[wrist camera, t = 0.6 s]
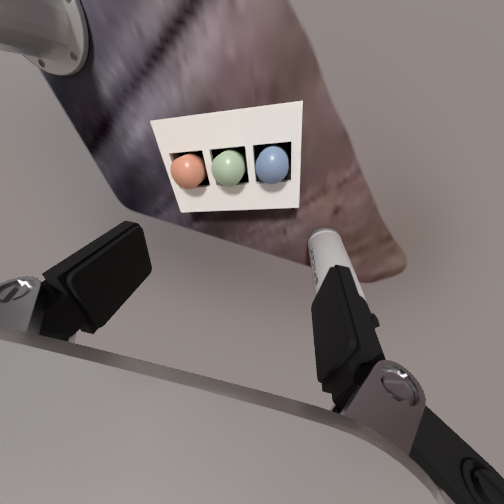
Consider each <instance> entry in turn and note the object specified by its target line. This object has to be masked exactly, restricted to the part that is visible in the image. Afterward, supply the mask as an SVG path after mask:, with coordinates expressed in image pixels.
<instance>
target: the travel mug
mask: <svg viewBox="0 0 504 504" xmlns="http://www.w3.org/2000/svg"><path fill="white" fill-rule="evenodd" d="M308 249H309V255H310V262H311V268H312V275H313V281H314V288H315V294H316V295H317V293H318V291H319V289H320V287H321V284H322V282H323V280H324V278H325V276H326V274H327V272H328V270H329V268H330V267H334V266H335V265H341V266H346V267H349V268H350V270H351V273H352V276H353V279H354V281H355V284H356V287H357V290H358V293H359V295H360V298H361V299H362V300H363V301H364V303H365V305H366V308H367V310H368V313H369V316H370V319H371V321H372V324H373V327H374V329H375V328H376V327H379V326H380V325H379V321H378V319H377V317H376V316H375V315H374V314H373V313H372V314H371V312H370V309H369V307H368V304H367V301H366V299H365V296H364V293H363V291H362V289H361V286H360V284H359V281H358V279H357V276H356V274H355V272H354V269H353V267H352V264H351V262H350V260H349V257H348V255H347V252H346V250H345V247H344V245H343V243H342V240H341V238H340V235H339V233H338V232H337V231H335V230H334V229H331V228H320V229H318V230H315V231H314V232H313V233H312V234H311V235H310V236H309V238H308Z"/></svg>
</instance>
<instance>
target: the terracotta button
mask: <svg viewBox="0 0 504 504" xmlns="http://www.w3.org/2000/svg"><path fill="white" fill-rule="evenodd" d="M170 171H171V176H172V178H173V180H174V181H175V182H176V184H177V185H179V186H180V187H182V188H184V189H193V188H195V187H196V186H198V185H199V184H200V183H201V182H202V181H203V180H204V179H205V178H206V177H207V175H208V174H207V169H206V165H205V161H204V158H203V157H202V156H201V155H200V154H198V153H194V152H190V153H187V154H185V155H183V156H181V157H179V158H177V159H175V160H174V161H173V162H172V164H171V168H170Z"/></svg>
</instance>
